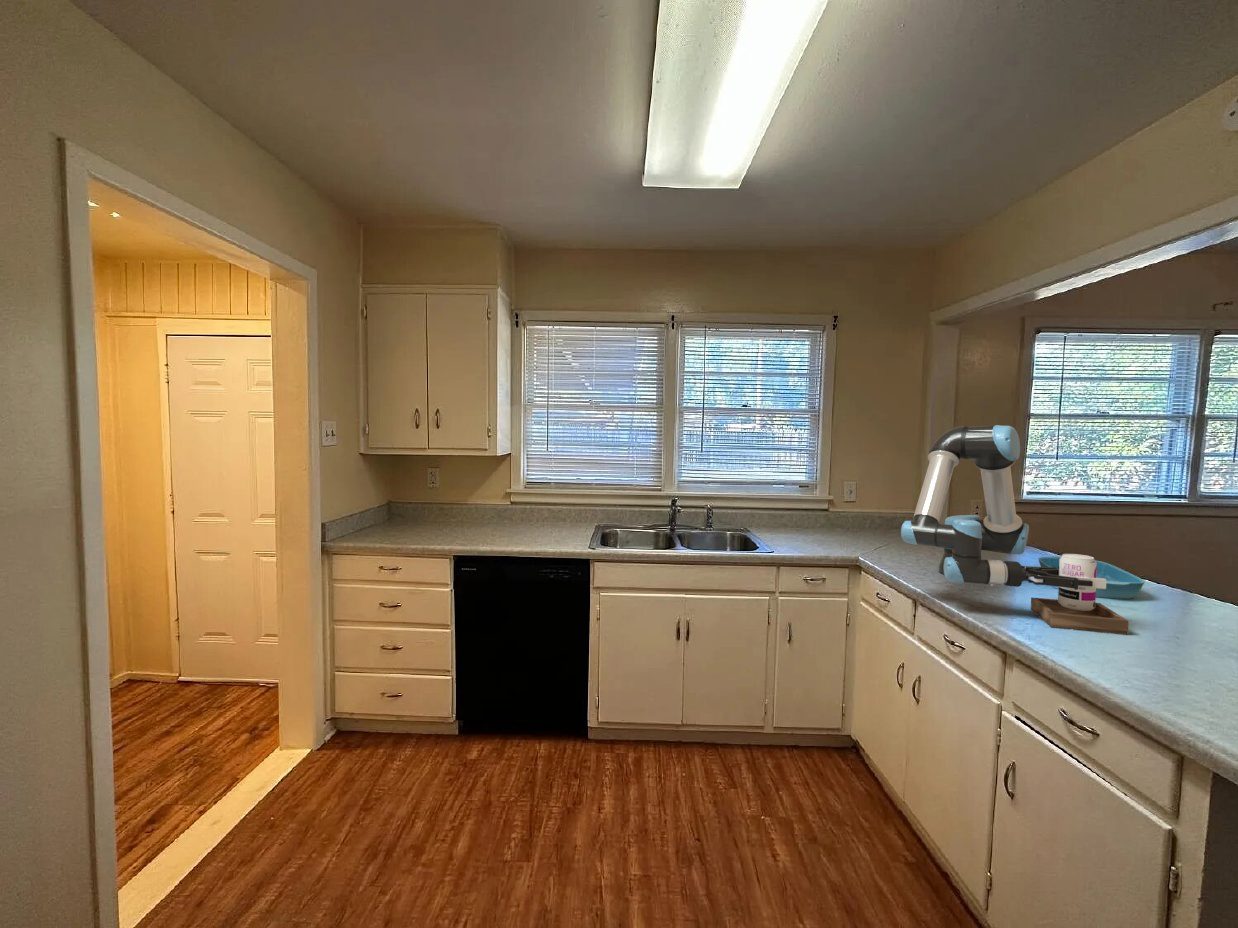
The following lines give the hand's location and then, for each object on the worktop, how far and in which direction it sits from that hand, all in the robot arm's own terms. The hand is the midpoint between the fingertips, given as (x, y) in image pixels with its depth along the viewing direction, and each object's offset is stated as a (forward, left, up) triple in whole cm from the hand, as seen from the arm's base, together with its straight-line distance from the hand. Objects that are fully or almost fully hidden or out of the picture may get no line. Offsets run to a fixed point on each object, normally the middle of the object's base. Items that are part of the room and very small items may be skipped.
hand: (1097, 579), depth 151 cm
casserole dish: (-44, +14, -13) cm, 48 cm away
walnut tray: (0, -5, -13) cm, 14 cm away
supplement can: (0, -5, -9) cm, 10 cm away
